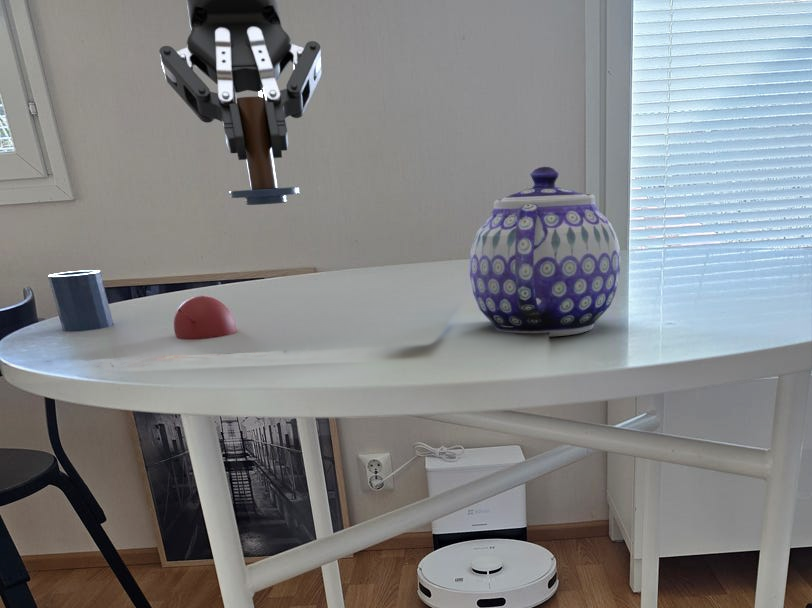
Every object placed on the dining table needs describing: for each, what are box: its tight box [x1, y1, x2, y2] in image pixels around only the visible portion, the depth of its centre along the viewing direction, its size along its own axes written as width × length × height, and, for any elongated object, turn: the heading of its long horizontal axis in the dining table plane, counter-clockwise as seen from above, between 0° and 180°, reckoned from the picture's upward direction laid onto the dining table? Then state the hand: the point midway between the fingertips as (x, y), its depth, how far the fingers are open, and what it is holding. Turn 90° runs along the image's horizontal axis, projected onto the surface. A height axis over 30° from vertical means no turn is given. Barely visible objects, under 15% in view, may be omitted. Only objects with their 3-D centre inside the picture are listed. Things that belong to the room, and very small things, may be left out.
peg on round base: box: [229, 96, 301, 206], centre depth 70 cm, size 6×6×8 cm
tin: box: [47, 269, 114, 332], centre depth 97 cm, size 5×5×8 cm
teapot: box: [469, 166, 621, 337], centre depth 86 cm, size 25×15×15 cm, turn 165°
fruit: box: [173, 295, 237, 341], centre depth 87 cm, size 6×6×8 cm
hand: (258, 149), depth 69 cm, fingers closed on peg on round base
